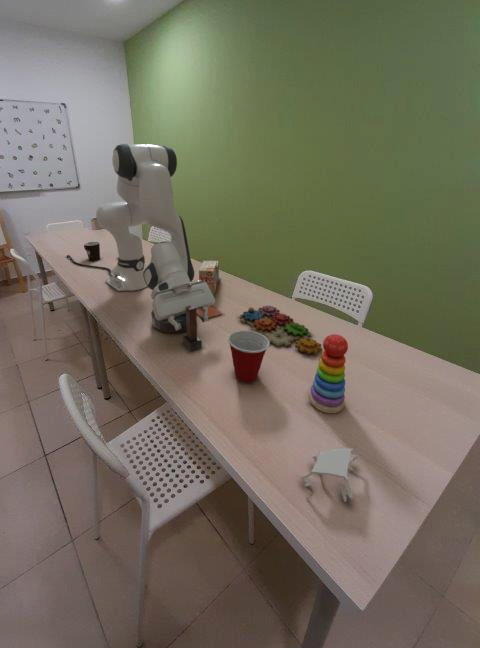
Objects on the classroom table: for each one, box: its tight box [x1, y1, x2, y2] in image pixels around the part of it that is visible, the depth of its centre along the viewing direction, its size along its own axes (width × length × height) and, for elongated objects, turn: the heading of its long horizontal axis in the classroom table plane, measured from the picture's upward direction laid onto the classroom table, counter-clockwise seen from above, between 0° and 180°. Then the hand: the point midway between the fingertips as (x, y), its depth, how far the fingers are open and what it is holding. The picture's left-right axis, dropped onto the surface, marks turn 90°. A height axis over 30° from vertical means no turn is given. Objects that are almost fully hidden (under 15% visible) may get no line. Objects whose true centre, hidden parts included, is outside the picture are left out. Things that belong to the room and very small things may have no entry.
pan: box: [150, 309, 198, 334], centre depth 109 cm, size 16×16×4 cm
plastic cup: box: [227, 329, 271, 384], centre depth 80 cm, size 11×11×12 cm
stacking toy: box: [308, 333, 349, 414], centre depth 69 cm, size 8×8×19 cm
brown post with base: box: [182, 305, 202, 352], centre depth 94 cm, size 5×4×14 cm
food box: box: [198, 260, 220, 297], centre depth 136 cm, size 21×6×12 cm, turn 169°
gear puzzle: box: [239, 305, 323, 355], centre depth 101 cm, size 31×16×4 cm, turn 25°
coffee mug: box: [83, 241, 101, 262], centre depth 181 cm, size 12×9×10 cm
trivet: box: [196, 305, 222, 320], centre depth 116 cm, size 8×8×1 cm
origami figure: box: [299, 447, 360, 503], centre depth 55 cm, size 12×8×5 cm
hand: (192, 325), depth 93 cm, fingers open, 8 cm apart
